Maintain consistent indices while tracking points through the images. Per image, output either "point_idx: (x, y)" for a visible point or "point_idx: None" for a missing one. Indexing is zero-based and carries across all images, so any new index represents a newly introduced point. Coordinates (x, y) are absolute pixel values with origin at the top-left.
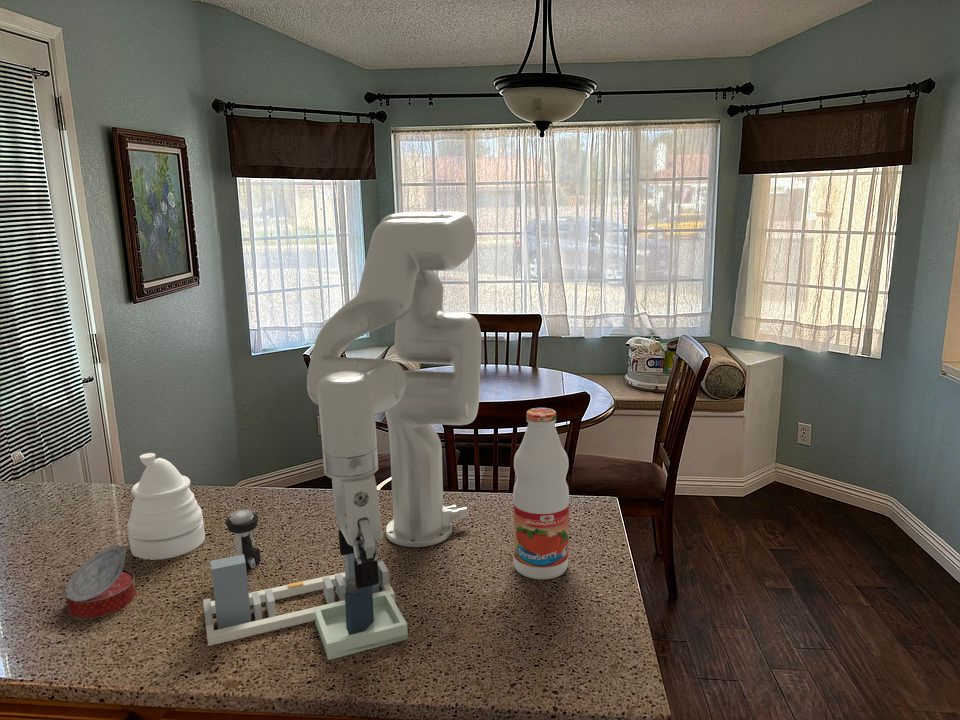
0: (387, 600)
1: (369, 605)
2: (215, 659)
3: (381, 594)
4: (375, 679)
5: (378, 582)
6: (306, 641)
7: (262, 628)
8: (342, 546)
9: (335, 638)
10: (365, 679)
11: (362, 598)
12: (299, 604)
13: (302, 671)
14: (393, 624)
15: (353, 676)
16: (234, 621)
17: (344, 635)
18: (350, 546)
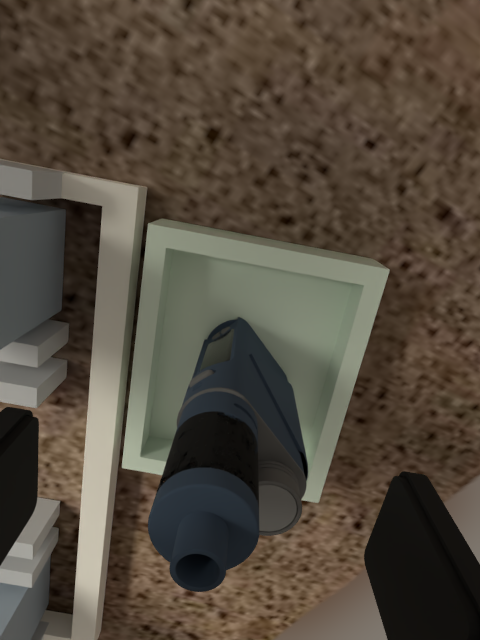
0: (198, 252)
1: (265, 370)
2: (157, 630)
3: (156, 258)
4: (463, 411)
5: (425, 476)
6: None
7: (105, 551)
8: (6, 551)
9: None
10: (444, 429)
11: (297, 439)
12: None
13: (312, 523)
14: (360, 311)
15: (412, 446)
16: (43, 588)
17: None
18: (13, 501)
